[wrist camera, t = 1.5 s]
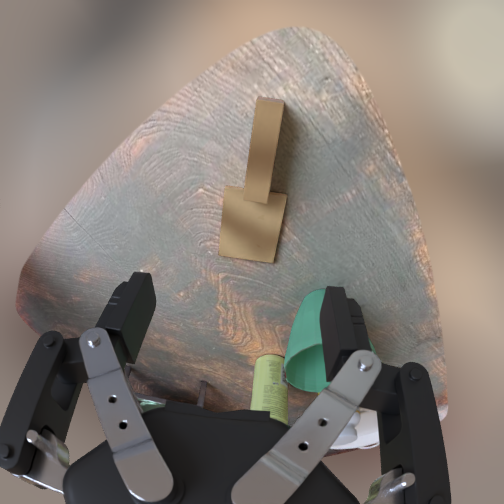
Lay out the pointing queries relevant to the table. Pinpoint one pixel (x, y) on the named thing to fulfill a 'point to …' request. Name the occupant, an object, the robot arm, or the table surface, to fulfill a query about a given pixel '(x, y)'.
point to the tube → (270, 387)
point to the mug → (307, 347)
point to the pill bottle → (349, 430)
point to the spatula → (255, 193)
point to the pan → (364, 431)
